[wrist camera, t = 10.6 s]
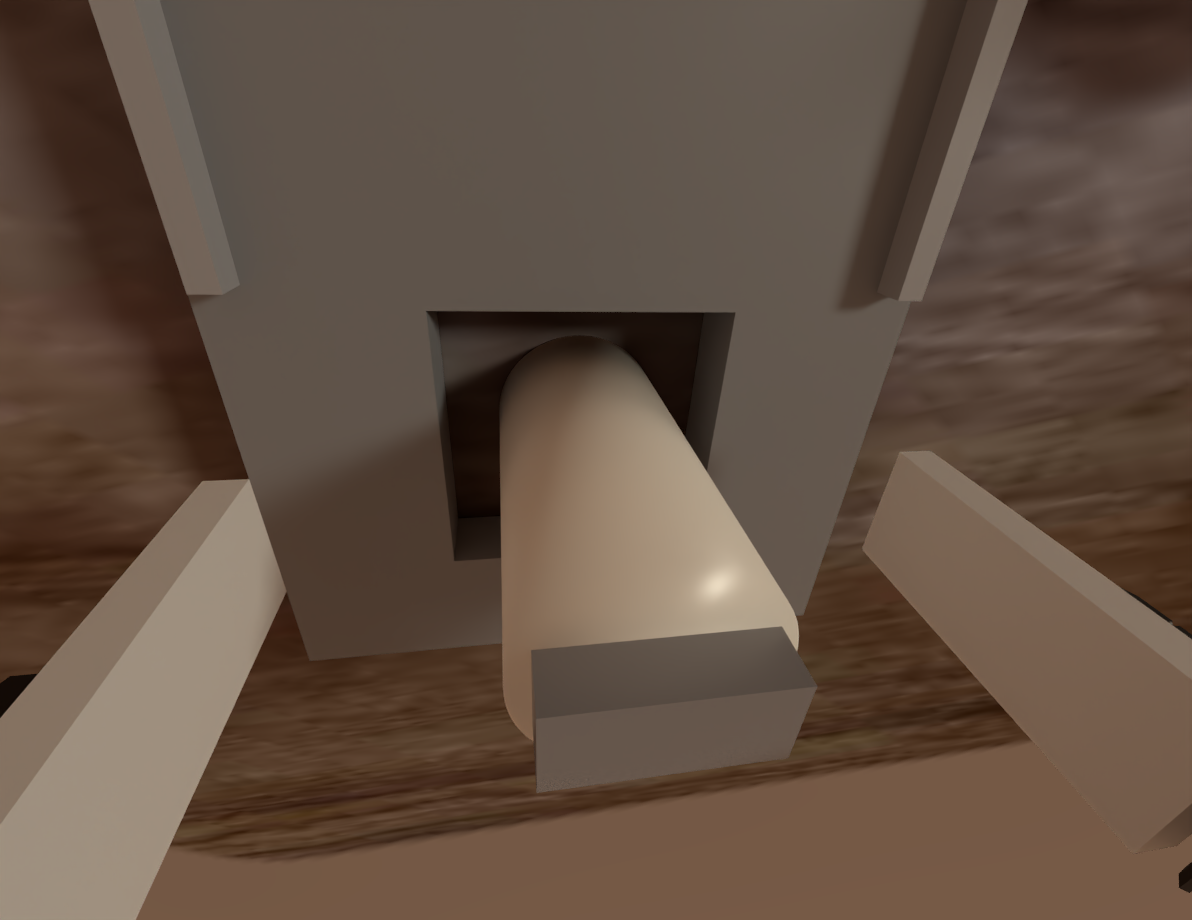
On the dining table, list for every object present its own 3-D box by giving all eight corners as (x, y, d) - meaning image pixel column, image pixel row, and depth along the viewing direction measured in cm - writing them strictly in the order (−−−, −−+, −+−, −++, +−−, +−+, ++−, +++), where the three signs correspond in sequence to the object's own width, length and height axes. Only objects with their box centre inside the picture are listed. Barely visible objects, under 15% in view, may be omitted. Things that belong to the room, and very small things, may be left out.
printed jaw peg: (495, 335, 14) (496, 640, 6) (658, 335, 15) (880, 605, 6) (502, 477, 16) (509, 848, 8) (643, 471, 17) (791, 805, 8)
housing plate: (-152, -1051, 6) (-637, -1941, 3) (1127, -614, 8) (1387, -924, 6) (327, 611, 18) (301, 684, 15) (777, 575, 20) (814, 632, 18)
